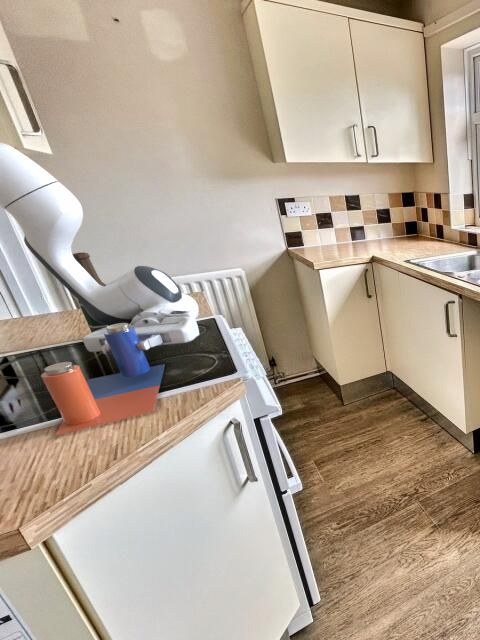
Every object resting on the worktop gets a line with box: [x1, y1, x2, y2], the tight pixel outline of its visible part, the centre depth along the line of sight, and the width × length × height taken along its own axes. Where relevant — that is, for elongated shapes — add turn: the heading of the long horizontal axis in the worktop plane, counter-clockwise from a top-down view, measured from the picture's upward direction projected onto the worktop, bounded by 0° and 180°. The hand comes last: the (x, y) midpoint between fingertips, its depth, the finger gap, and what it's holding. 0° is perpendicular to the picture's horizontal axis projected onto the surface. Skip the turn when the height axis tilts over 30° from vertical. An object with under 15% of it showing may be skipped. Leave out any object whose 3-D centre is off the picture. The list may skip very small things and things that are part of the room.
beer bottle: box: [72, 252, 108, 333], centre depth 115 cm, size 8×8×24 cm
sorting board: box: [54, 363, 166, 437], centre depth 88 cm, size 14×26×1 cm, turn 33°
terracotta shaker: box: [40, 361, 101, 425], centre depth 78 cm, size 5×5×11 cm
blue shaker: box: [104, 323, 151, 377], centre depth 91 cm, size 5×5×11 cm
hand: (123, 348), depth 90 cm, fingers closed on blue shaker, 5 cm apart
